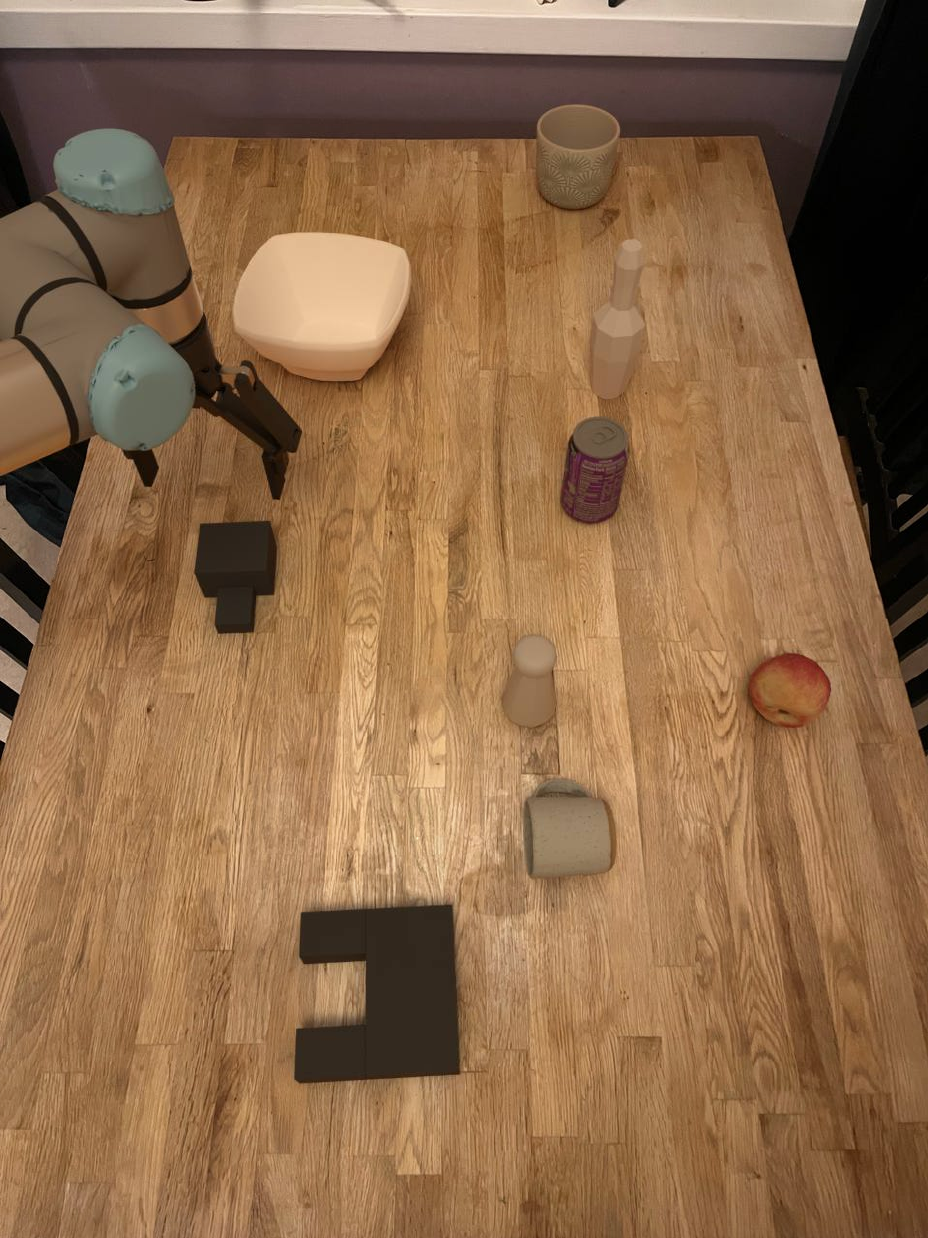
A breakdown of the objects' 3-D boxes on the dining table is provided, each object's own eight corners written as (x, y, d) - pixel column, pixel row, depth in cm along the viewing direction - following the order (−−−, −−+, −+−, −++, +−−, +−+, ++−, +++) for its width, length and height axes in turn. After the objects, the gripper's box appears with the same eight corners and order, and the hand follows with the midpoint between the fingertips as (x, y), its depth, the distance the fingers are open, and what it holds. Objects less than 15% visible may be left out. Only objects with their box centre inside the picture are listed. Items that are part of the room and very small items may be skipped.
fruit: (727, 703, 103) (746, 667, 96) (774, 663, 106) (795, 625, 99) (783, 754, 100) (807, 720, 93) (830, 712, 102) (856, 675, 96)
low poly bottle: (575, 379, 129) (593, 237, 111) (615, 364, 131) (640, 222, 112) (599, 409, 126) (623, 269, 108) (640, 394, 128) (670, 252, 109)
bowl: (396, 423, 125) (390, 354, 115) (232, 403, 127) (213, 334, 117) (426, 310, 137) (423, 240, 127) (276, 294, 139) (262, 223, 129)
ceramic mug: (612, 883, 92) (623, 856, 86) (528, 890, 92) (533, 863, 86) (595, 782, 98) (604, 749, 92) (516, 788, 98) (519, 755, 91)
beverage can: (589, 473, 120) (601, 404, 110) (629, 507, 117) (645, 439, 107) (548, 501, 118) (555, 433, 108) (587, 536, 115) (599, 469, 105)
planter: (573, 161, 156) (579, 94, 147) (627, 196, 151) (637, 129, 142) (516, 190, 152) (519, 123, 143) (570, 227, 147) (577, 160, 138)
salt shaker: (545, 742, 100) (555, 683, 90) (493, 726, 101) (497, 666, 91) (560, 696, 103) (572, 633, 92) (510, 681, 104) (515, 617, 93)
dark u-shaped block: (299, 1084, 83) (294, 1079, 81) (305, 921, 91) (300, 912, 88) (459, 1074, 83) (459, 1070, 81) (452, 913, 91) (452, 904, 88)
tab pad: (209, 549, 114) (200, 523, 110) (277, 546, 114) (269, 520, 110) (200, 634, 108) (189, 610, 103) (271, 631, 108) (263, 607, 104)
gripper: (313, 303, 83) (340, 467, 101) (36, 279, 84) (111, 445, 102) (293, 363, 79) (325, 523, 97) (3, 337, 80) (87, 499, 98)
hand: (215, 483), depth 100 cm, fingers open, 13 cm apart
